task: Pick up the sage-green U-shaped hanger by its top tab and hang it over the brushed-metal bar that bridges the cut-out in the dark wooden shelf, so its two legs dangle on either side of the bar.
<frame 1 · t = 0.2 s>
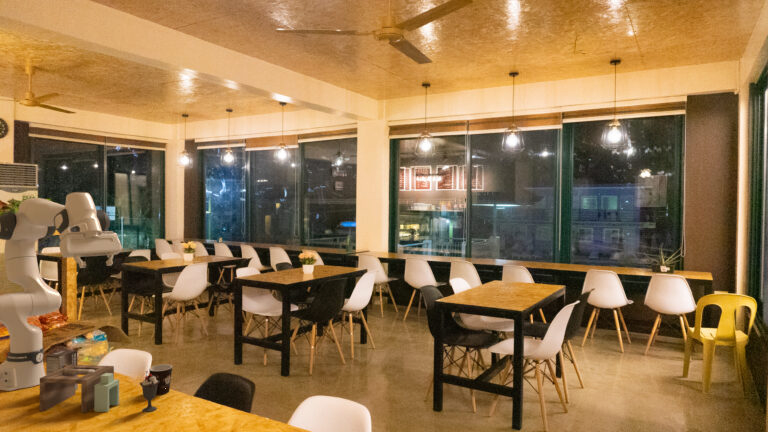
hand: (97, 266, 177), 54 cm above the table, tool tilted 30°, fingers open, 8 cm apart
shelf: (78, 403, 187), on the table
hanger: (107, 407, 183), on the table
sundae: (149, 410, 182), on the table
coffee box: (62, 392, 198), on the table
coffee mug: (156, 393, 198), on the table
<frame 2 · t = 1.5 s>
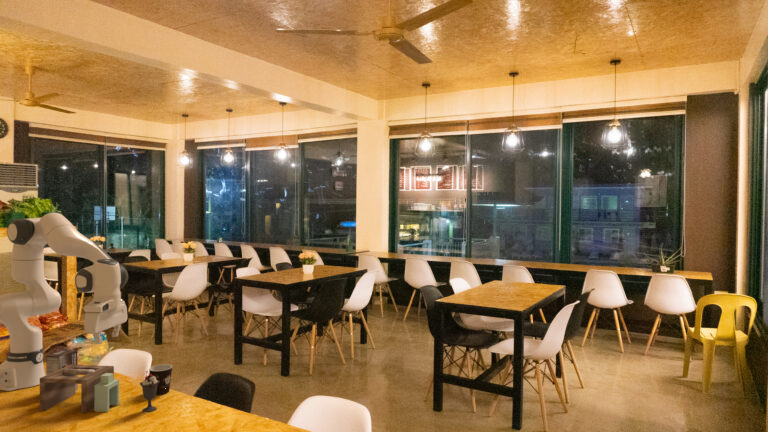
hand: (107, 339, 183), 25 cm above the table, tool pointing down, fingers open, 8 cm apart
nothing on the table moved.
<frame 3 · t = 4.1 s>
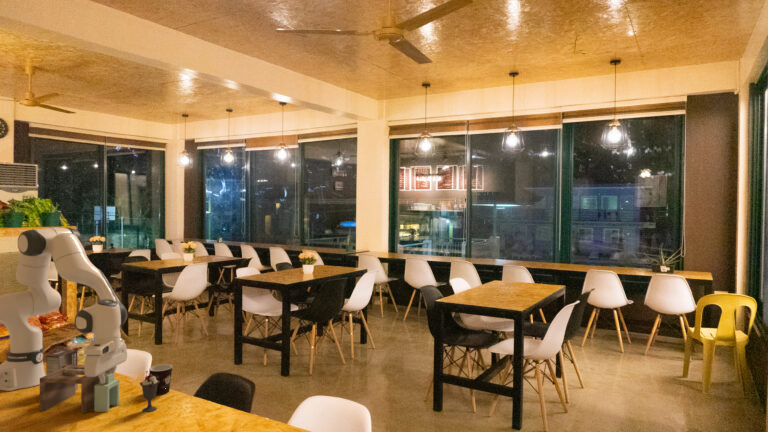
hand: (107, 380, 183), 10 cm above the table, tool pointing down, fingers closed on hanger, 3 cm apart
hanger: (107, 407, 183), on the table, touching gripper
everything else where it was.
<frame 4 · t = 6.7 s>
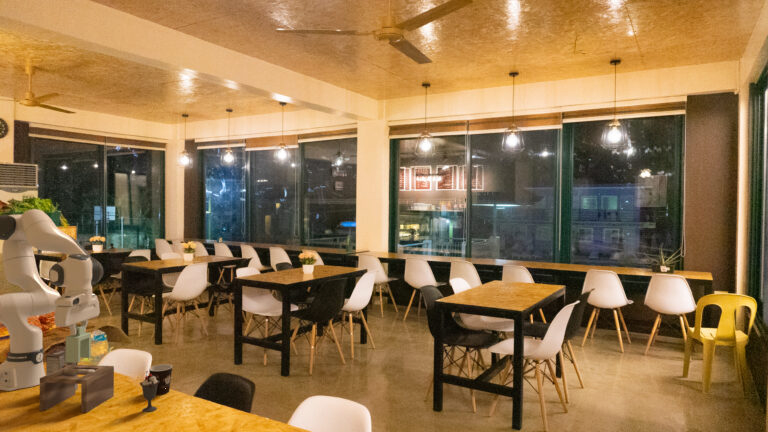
hand: (78, 333, 187), 27 cm above the table, tool pointing down, fingers closed on hanger, 3 cm apart
hanger: (78, 359, 187), point 17 cm above the table, touching gripper
everything else where it was.
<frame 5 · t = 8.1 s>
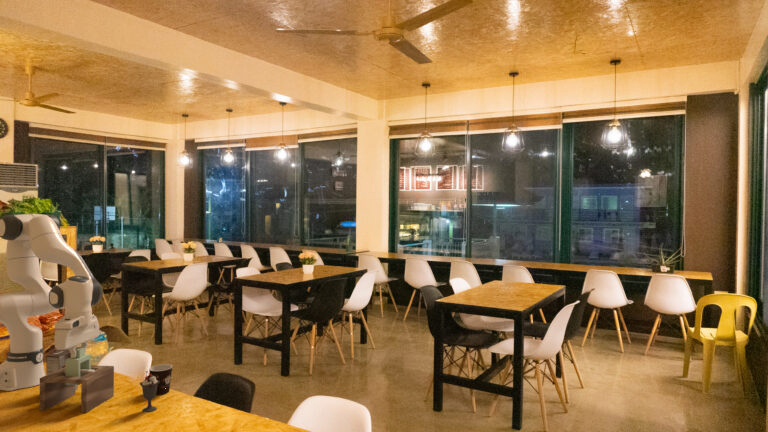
hand: (78, 355, 187), 18 cm above the table, tool pointing down, fingers closed on hanger, 3 cm apart
hanger: (78, 381, 187), point 8 cm above the table, touching gripper
everything else where it was.
when the fingers open (17 cm above the table, at t = 9.2 s): hanger drops 1 cm, resting on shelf.
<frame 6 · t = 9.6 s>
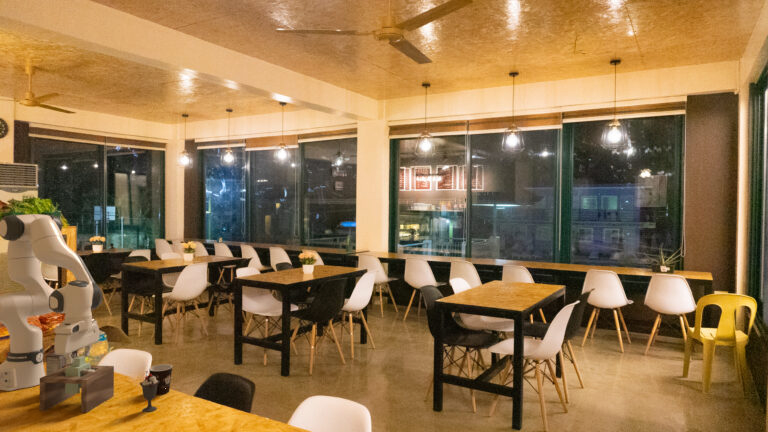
hand: (78, 359, 187), 17 cm above the table, tool pointing down, fingers open, 8 cm apart
hanger: (77, 390, 187), point 5 cm above the table, touching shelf
everything else where it was.
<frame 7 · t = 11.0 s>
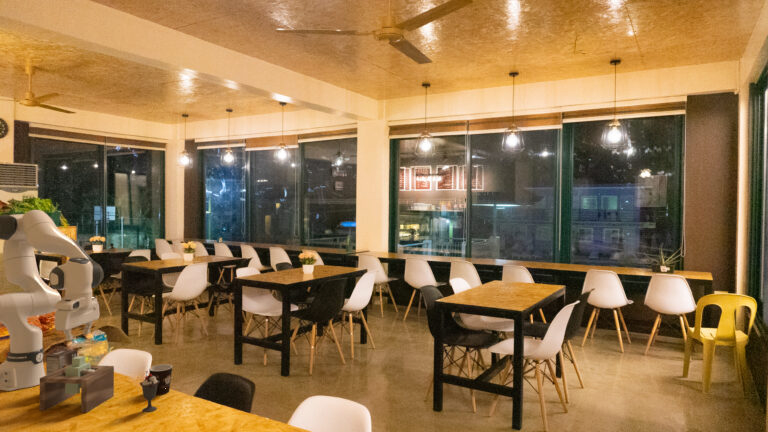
hand: (78, 336, 187), 25 cm above the table, tool pointing down, fingers open, 8 cm apart
nothing on the table moved.
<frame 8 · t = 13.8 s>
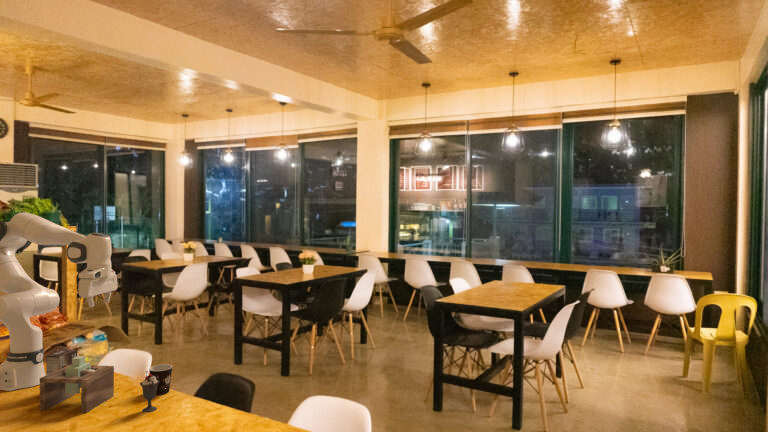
hand: (99, 304, 205), 34 cm above the table, tool pointing down, fingers open, 8 cm apart
nothing on the table moved.
at the end: hanger 0.1 cm off-centre on the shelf, point 5.0 cm above the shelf's base; hanger touching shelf; the gripper is holding nothing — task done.
